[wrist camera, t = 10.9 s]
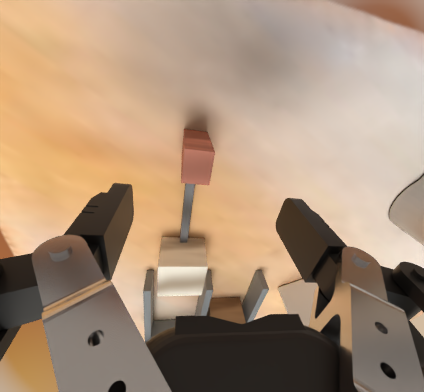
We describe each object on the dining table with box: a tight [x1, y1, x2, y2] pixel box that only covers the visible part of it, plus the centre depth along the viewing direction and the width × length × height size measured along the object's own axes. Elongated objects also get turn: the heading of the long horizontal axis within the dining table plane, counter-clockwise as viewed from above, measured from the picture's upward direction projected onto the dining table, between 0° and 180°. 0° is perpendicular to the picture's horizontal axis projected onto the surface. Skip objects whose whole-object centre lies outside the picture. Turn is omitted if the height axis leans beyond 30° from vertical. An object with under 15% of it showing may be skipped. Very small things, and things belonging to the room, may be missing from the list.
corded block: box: [157, 129, 215, 296], centre depth 24 cm, size 21×6×6 cm, turn 171°
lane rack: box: [143, 270, 269, 343], centre depth 31 cm, size 16×19×14 cm
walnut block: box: [206, 297, 246, 324], centre depth 37 cm, size 6×6×5 cm
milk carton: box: [278, 279, 318, 326], centre depth 31 cm, size 7×7×19 cm
